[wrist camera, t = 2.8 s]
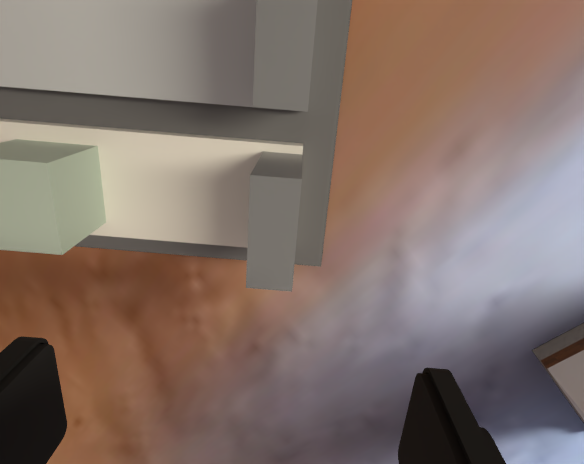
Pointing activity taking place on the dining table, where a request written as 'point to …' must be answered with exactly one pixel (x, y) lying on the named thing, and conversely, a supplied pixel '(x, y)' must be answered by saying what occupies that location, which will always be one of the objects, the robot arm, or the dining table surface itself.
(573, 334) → the banded white pillar
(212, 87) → the empty strip
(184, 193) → the block strip
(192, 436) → the dining table surface
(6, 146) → the block
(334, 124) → the mat
